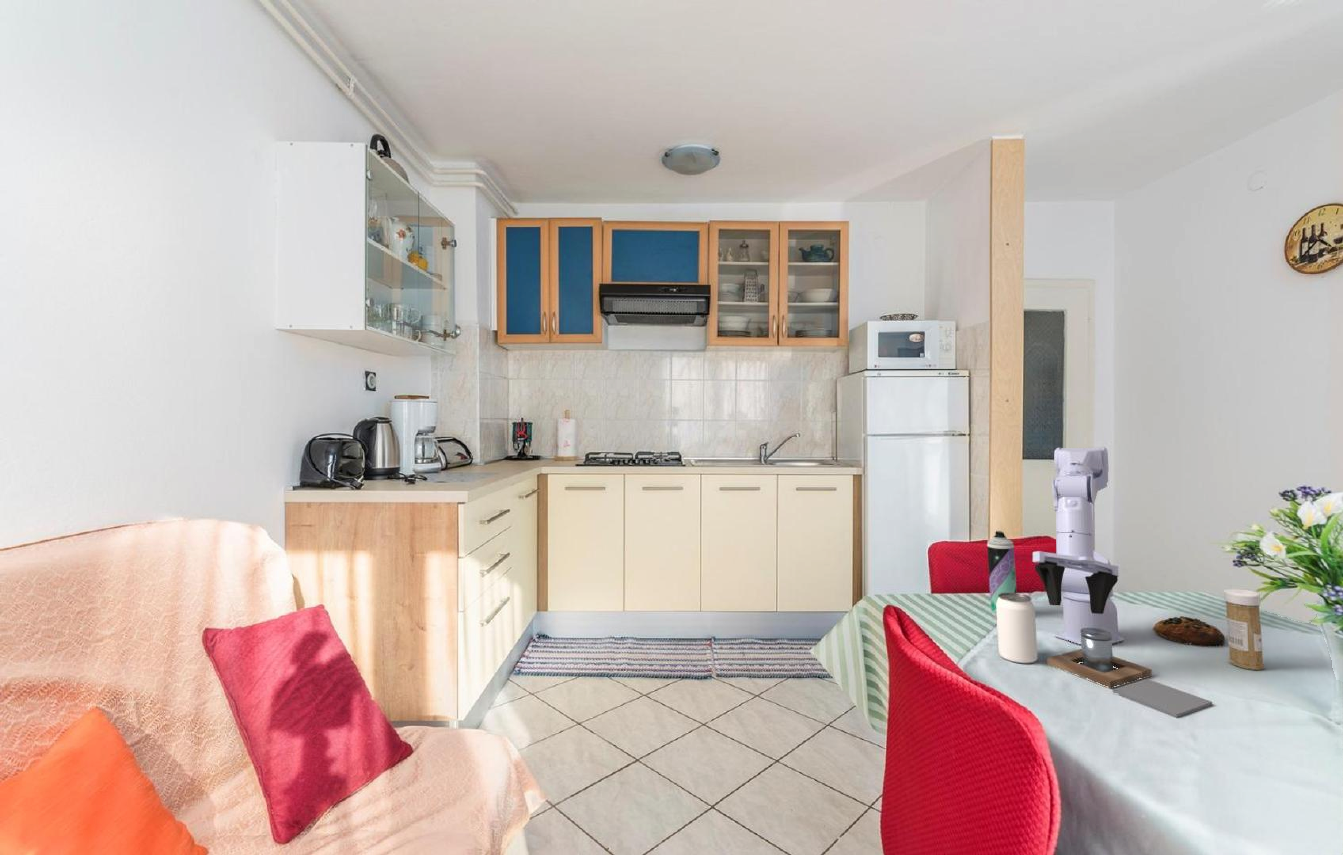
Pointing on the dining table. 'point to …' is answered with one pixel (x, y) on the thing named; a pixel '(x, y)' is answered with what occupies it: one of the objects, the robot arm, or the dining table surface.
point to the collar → (1113, 678)
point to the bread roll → (1190, 631)
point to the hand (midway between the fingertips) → (1076, 609)
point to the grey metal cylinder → (1097, 649)
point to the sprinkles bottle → (1244, 628)
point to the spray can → (1000, 568)
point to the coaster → (1162, 697)
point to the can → (1016, 628)
